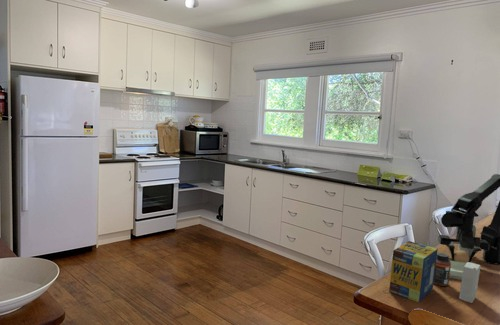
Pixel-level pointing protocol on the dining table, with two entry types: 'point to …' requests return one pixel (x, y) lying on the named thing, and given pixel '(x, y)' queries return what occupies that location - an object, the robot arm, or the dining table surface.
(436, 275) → the supplement bottle
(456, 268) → the tray
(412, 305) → the dining table surface
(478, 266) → the skincare box
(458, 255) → the ball
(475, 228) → the energy drink can
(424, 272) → the protein box
